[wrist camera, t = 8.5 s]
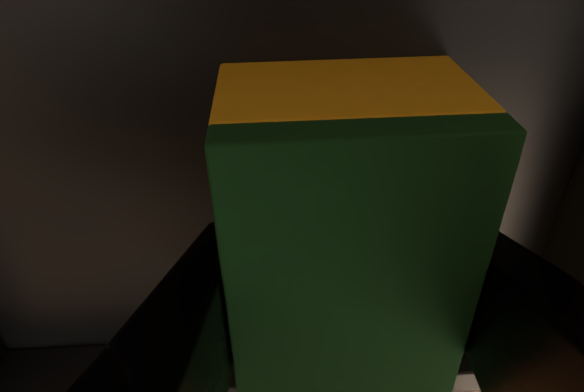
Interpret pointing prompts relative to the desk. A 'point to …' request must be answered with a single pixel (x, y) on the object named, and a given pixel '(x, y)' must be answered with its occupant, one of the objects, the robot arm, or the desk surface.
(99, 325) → the tray
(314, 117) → the sponge
